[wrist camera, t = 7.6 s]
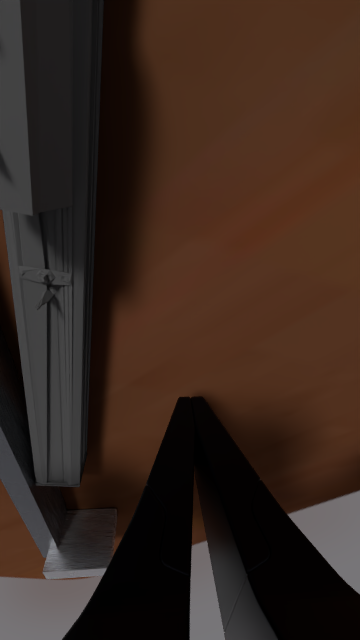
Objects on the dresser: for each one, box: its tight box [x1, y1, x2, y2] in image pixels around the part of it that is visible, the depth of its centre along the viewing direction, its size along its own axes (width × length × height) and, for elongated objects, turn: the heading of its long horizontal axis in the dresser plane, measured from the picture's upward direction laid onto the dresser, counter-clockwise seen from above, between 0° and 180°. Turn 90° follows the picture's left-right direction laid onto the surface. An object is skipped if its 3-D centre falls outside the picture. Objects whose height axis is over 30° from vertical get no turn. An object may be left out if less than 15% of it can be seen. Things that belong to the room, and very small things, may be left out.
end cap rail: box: [0, 327, 117, 579], centre depth 10 cm, size 4×26×3 cm, turn 179°
